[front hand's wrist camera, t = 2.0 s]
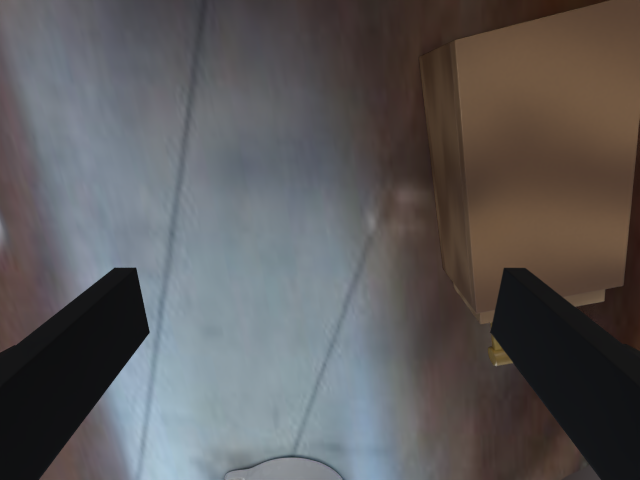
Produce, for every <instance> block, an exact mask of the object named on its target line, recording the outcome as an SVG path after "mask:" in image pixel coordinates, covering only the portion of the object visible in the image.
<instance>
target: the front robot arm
mask: <svg viewBox="0 0 640 480" xmlns="http://www.w3.org/2000/svg"><path fill="white" fill-rule="evenodd" d="M149 333H150V332H149V327H148V322H147V317H146V313H145V308H144V303H143V298H142V293H141V289H140V284H139V279H138V274H137V270H136V268H114V269H112V270H111V271H110V272H109V273H107V274H106V275H105V276H104V277H102V278H101V279H100V280H98V281H97V282H96V283H95V284H93V285H92V286H91V287H90V288H88V289H87V290H86V291H84V292H83V293H82V294H81V295H79V296H78V297H77V298H76V299H74V300H73V301H72V302H70V303H69V304H68V305H67V306H65V307H64V308H63V309H62V310H60V311H59V312H58V313H56V314H55V315H54V316H53V317H51V318H50V319H49V320H48V321H46V322H45V323H44V324H43V325H41V326H40V327H39V328H37V329H36V330H35V331H34V332H32V333H31V334H30V335H29V336H27V337H26V338H25V339H23V340H22V341H21V342H20V343H18V344H17V345H14V346H12V347H10V348H8V349H6V350H5V351H3V352H1V353H0V480H39V479H40V478H41V476H42V475H43V474H44V472H45V471H46V470H47V468H48V467H49V466H50V464H51V463H52V462H53V460H54V459H55V458H56V456H57V455H58V454H59V452H60V451H61V450H62V448H63V447H64V446H65V444H66V443H67V442H68V440H69V439H70V438H71V436H72V435H73V434H74V432H75V431H76V430H77V428H78V427H79V426H80V424H81V423H82V422H83V420H84V419H85V418H86V416H87V415H88V414H89V412H90V411H91V410H92V408H93V407H94V406H95V404H96V403H97V402H98V400H99V399H100V398H101V396H102V395H103V394H104V392H105V391H106V390H107V389H108V387H109V386H110V385H111V383H112V382H113V381H114V379H115V378H116V377H117V375H118V374H119V373H120V371H121V370H122V369H123V367H124V366H125V365H126V363H127V362H128V361H129V359H130V358H131V357H132V355H133V354H134V353H135V351H136V350H137V349H138V347H139V346H140V345H141V343H142V342H143V341H144V339H145V338H146V337H147V335H148V334H149ZM490 333H491V334H492V335H493V337H494V338H495V339H496V341H497V342H498V343H499V345H500V346H501V347H502V349H503V350H504V351H505V353H506V354H507V355H508V357H509V358H510V359H511V361H512V362H513V363H514V365H515V366H516V367H517V369H518V370H519V371H520V373H521V374H522V375H523V377H524V378H525V379H526V381H527V382H528V383H529V385H530V386H531V387H532V389H533V390H534V391H535V392H536V394H537V395H538V396H539V398H540V399H541V400H542V402H543V403H544V404H545V406H546V407H547V408H548V410H549V411H550V412H551V414H552V415H553V416H554V418H555V419H556V420H557V422H558V423H559V424H560V426H561V427H562V428H563V430H564V431H565V432H566V434H567V435H568V436H569V438H570V439H571V440H572V442H573V443H574V444H575V446H576V447H577V448H578V450H579V451H580V452H581V454H582V455H583V456H584V458H585V459H586V460H587V462H588V463H589V464H590V466H591V467H592V468H593V470H594V471H595V472H596V474H597V475H598V476H599V478H600V479H601V480H640V351H638V350H636V349H635V348H633V347H631V346H629V345H627V344H622V343H620V342H619V341H618V340H617V339H615V338H614V337H613V336H611V335H610V334H609V333H608V332H606V331H605V330H604V329H603V328H601V327H600V326H599V325H597V324H596V323H595V322H594V321H592V320H591V319H590V318H589V317H587V316H586V315H585V314H584V313H582V312H581V311H580V310H578V309H577V308H576V307H575V306H573V305H572V304H571V303H570V302H568V301H567V300H566V299H564V298H563V297H562V296H561V295H559V294H558V293H557V292H556V291H554V290H553V289H552V288H550V287H549V286H548V285H547V284H545V283H544V282H543V281H542V280H540V279H539V278H538V277H536V276H535V275H534V274H533V273H531V272H530V271H529V270H528V269H526V268H504V270H503V274H502V279H501V284H500V289H499V293H498V298H497V303H496V308H495V313H494V317H493V322H492V327H491V332H490Z"/></svg>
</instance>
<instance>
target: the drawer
mask: <svg viewBox="0 0 640 480" xmlns="http://www.w3.org/2000/svg"><path fill="white" fill-rule="evenodd" d="M454 288H455V290H456V291H457V293H458V294H459V295H460V297H461V298H462V299H463V301H464V302H465V303H466V305H467V306H468V308H469V309H470V310H471V312H472V313H473V314H474V316H475V317H476V319H477V320H478V321H479V323H480V324H485V323H491V327H492V322H493V317H494V313H495V310H493V311H488V312H482V313H476V312H475V311H474V310H473V308H472V307H471V306H470V304H469V303H468V302H467V300H466V299H465V298H464V296H463V295H462V294H461V292H460V291H459V290H458V288H457V287H456V286H455V284H454ZM563 298H564V299H566V300H567V301H568V302H570V303H571V304H572V305H573V306H575V307H576V306H581V305H586V304H592V303H597V302H602V301H604V299H605V289H603V290H598V291H593V292H587V293H582V294H577V295H572V296H566V297H563ZM491 336H492V347H489V348H488V354H489V358H490V360H491V362H492V364H493V365H494V366H498V365H504V364H510V363H513V362H512V361H511V359H510V358H509V357H508V355H507V354H506V353H505V351H504V350H503V349H502V347H501V346H500V345H499V343H498V342H497V341H496V339H495V338H494V337H493V335H492V334H491Z"/></svg>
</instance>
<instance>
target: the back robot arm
mask: <svg viewBox="0 0 640 480" xmlns="http://www.w3.org/2000/svg"><path fill="white" fill-rule="evenodd" d="M224 480H343V479H342V477H341V476H340V475H339V474H338V473H337V472H336V471H334V470H333V469H331V468H330V467H328V466H326V465H324V464H322V463H320V462H317V461H314V460H310V459H304V458H293V457H289V458H278V459H273V460H270V461H266V462H264V463H261V464H259V465H257V466H255V467H253V468H250V469H244V470H236V471H231V472H228V473H227V474H226V475H225V479H224Z"/></svg>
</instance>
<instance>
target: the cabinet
mask: <svg viewBox="0 0 640 480" xmlns="http://www.w3.org/2000/svg"><path fill="white" fill-rule="evenodd" d="M419 63H420V72H421V81H422V89H423V98H424V107H425V116H426V125H427V133H428V142H429V151H430V160H431V168H432V177H433V186H434V195H435V204H436V212H437V221H438V230H439V239H440V247H441V256H442V265H443V269H444V271H445V272H446V274H447V275H448V276H449V278H450V279H451V280H452V282H453V283H454V284H455V286H456V287H457V288H458V290H459V291H460V292H461V294H462V295H463V296H464V298H465V299H466V300H467V302H468V303H469V304H470V306H471V307H472V308H473V310H474V311H475V312H476V313H482V312H488V311H493V310H495V308H496V303H497V298H498V293H499V289H500V284H501V279H502V274H503V270H504V268H526V269H528V270H529V271H530V272H531V273H533V274H534V275H535V276H536V277H538V278H539V279H540V280H542V281H543V282H544V283H545V284H547V285H548V286H549V287H550V288H552V289H553V290H554V291H556V292H557V293H558V294H559V295H561V296H562V297H566V296H572V295H577V294H582V293H587V292H593V291H598V290H603V289H608V288H614V287H619V286H623V284H624V274H625V263H626V253H627V243H628V232H629V222H630V212H631V201H632V191H633V180H634V170H635V160H636V149H637V139H638V129H639V118H640V0H609V1H605V2H601V3H597V4H593V5H590V6H586V7H582V8H578V9H574V10H570V11H566V12H562V13H558V14H554V15H550V16H546V17H542V18H539V19H535V20H531V21H527V22H523V23H519V24H515V25H511V26H507V27H503V28H499V29H495V30H492V31H488V32H484V33H480V34H476V35H472V36H468V37H464V38H460V39H456V40H454V41H452V42H449V43H447V44H445V45H443V46H441V47H439V48H437V49H435V50H433V51H430V52H428V53H426V54H424V55H422V56H420V57H419Z"/></svg>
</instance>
